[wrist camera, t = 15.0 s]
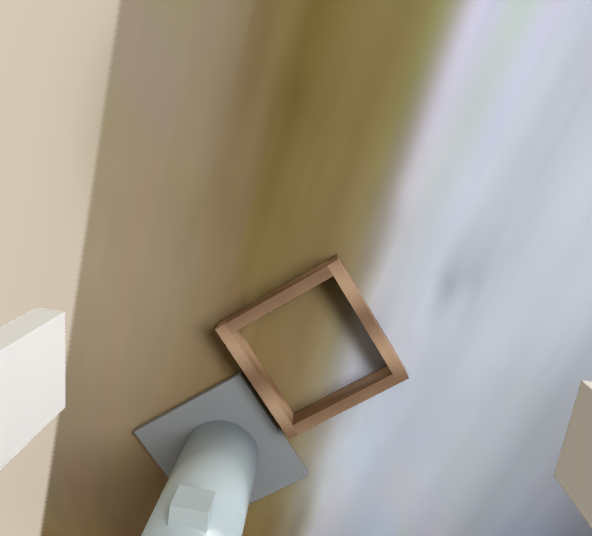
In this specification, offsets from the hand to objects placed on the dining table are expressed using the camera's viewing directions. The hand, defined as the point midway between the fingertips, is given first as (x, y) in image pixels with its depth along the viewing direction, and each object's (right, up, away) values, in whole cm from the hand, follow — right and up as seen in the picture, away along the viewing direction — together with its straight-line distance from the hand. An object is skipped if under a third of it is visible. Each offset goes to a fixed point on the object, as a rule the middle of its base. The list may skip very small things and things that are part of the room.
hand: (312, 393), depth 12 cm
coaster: (-7, -14, +33) cm, 36 cm away
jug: (-8, -16, +32) cm, 37 cm away
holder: (+1, -4, +30) cm, 30 cm away
